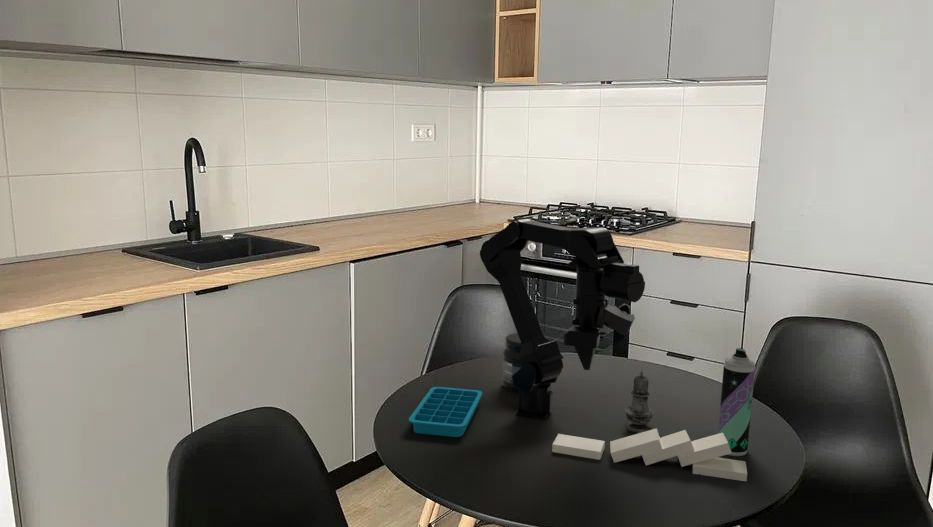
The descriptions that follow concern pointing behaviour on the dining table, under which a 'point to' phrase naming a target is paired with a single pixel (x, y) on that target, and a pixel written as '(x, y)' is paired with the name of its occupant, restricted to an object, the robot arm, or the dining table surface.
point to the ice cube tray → (445, 411)
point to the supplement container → (511, 361)
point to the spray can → (737, 401)
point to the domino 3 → (670, 447)
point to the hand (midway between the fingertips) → (587, 369)
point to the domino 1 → (578, 446)
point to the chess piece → (639, 407)
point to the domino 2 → (635, 445)
